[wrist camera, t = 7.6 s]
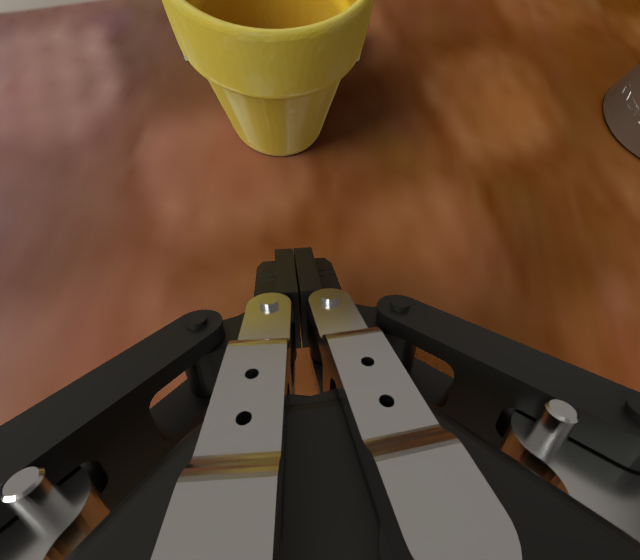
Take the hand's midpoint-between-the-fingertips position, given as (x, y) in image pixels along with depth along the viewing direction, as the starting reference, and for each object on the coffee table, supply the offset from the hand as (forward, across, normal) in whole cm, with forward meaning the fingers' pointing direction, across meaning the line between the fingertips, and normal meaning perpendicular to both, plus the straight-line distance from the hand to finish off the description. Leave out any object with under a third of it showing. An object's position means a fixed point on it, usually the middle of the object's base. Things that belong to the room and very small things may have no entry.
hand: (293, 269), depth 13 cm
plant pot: (+15, 0, -5) cm, 16 cm away
